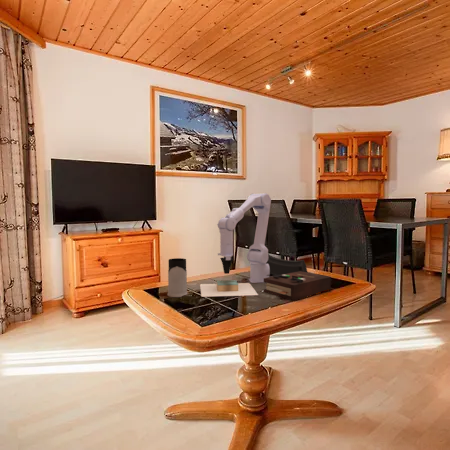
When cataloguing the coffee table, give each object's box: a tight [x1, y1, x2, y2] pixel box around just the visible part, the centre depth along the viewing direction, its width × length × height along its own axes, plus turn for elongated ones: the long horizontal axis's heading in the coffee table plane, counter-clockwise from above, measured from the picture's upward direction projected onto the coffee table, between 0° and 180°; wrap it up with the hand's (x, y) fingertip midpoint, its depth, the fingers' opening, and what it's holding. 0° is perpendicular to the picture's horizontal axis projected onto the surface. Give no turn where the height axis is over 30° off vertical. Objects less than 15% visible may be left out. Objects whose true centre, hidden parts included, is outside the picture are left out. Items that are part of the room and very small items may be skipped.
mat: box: [199, 282, 259, 298], centre depth 149 cm, size 24×22×1 cm
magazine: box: [266, 253, 309, 276], centre depth 178 cm, size 17×3×30 cm
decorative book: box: [263, 271, 332, 302], centre depth 146 cm, size 19×8×30 cm
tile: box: [216, 279, 239, 292], centre depth 149 cm, size 9×3×8 cm
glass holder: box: [167, 257, 188, 298], centre depth 144 cm, size 9×14×15 cm, turn 5°
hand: (226, 273), depth 152 cm, fingers closed
